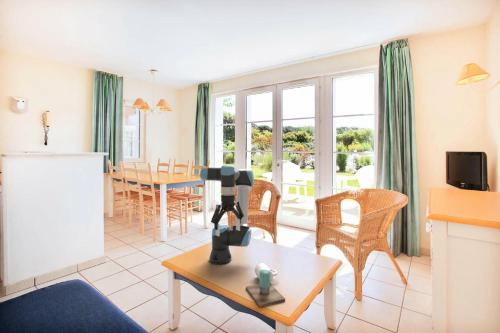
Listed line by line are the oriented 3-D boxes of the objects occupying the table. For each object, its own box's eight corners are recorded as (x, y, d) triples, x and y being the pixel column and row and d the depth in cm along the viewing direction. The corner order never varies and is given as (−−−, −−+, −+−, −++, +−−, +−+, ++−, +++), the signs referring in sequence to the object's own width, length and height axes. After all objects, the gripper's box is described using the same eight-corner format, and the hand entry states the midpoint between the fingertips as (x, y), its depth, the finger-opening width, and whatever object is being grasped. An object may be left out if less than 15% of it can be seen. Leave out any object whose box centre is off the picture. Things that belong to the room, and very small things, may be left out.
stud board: (245, 288, 137) (246, 271, 136) (269, 283, 142) (269, 267, 142) (259, 307, 120) (259, 287, 120) (285, 301, 125) (285, 282, 125)
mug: (259, 285, 141) (259, 271, 140) (254, 276, 150) (254, 263, 150) (279, 282, 144) (279, 268, 143) (273, 274, 153) (273, 261, 153)
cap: (270, 287, 128) (270, 274, 128) (259, 287, 128) (260, 274, 128) (269, 282, 134) (269, 269, 133) (259, 282, 133) (259, 269, 133)
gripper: (211, 198, 125) (212, 239, 126) (250, 192, 141) (250, 229, 142) (204, 195, 130) (204, 235, 132) (241, 190, 146) (241, 226, 148)
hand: (228, 232), depth 137 cm, fingers open, 13 cm apart
